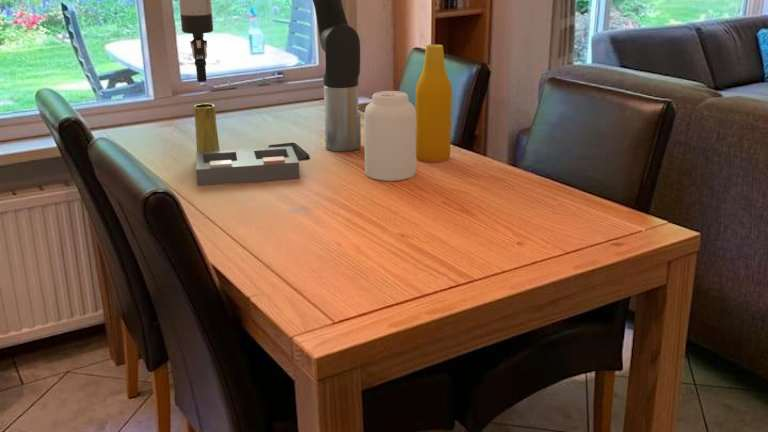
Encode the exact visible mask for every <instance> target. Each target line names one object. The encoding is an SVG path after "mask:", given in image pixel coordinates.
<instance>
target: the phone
mask: <svg viewBox="0 0 768 432" xmlns="http://www.w3.org/2000/svg"><path fill="white" fill-rule="evenodd" d="M288 146H292V148H293V150H294V153H295V155H296V157H297V159H298V161H305V160H309V159H310V158H311V157H310V154H309V153H307V151H306V150H304V149H303V148H302V147H301V146H300V145H299V144H298V143H296V142H287V143H276V144H275V143H274V144H269V145H268V147H267V148H272V147H288Z"/></svg>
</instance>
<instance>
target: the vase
mask: <svg viewBox="0 0 768 432" xmlns="http://www.w3.org/2000/svg"><path fill="white" fill-rule="evenodd" d="M193 111H194V123H195V125H194V127H195V139H196V141H195V142H196V152H211V151H221V149H220V143H219V136H218V127H217V116H216V106H215V104H213V103H198V104H195V105H194V106H193Z"/></svg>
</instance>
